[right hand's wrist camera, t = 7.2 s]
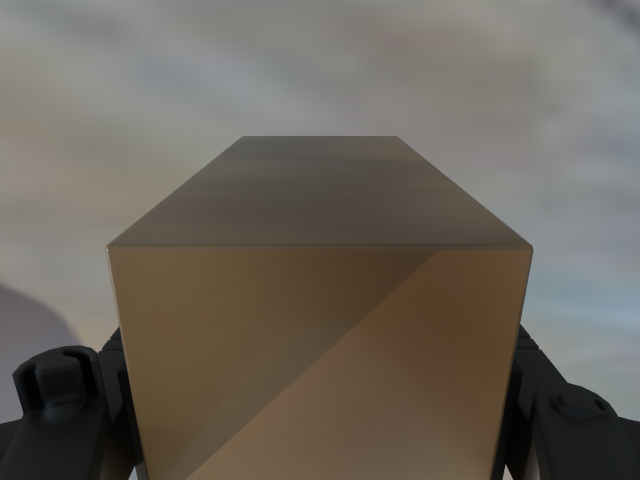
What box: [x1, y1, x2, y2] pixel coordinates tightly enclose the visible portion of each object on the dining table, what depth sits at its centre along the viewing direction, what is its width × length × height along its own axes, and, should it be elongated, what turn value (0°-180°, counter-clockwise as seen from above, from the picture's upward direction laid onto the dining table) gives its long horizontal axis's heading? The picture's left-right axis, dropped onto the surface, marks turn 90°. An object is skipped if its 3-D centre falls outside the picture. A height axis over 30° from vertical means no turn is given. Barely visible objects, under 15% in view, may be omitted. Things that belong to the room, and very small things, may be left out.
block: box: [106, 136, 533, 480], centre depth 12 cm, size 6×8×11 cm
